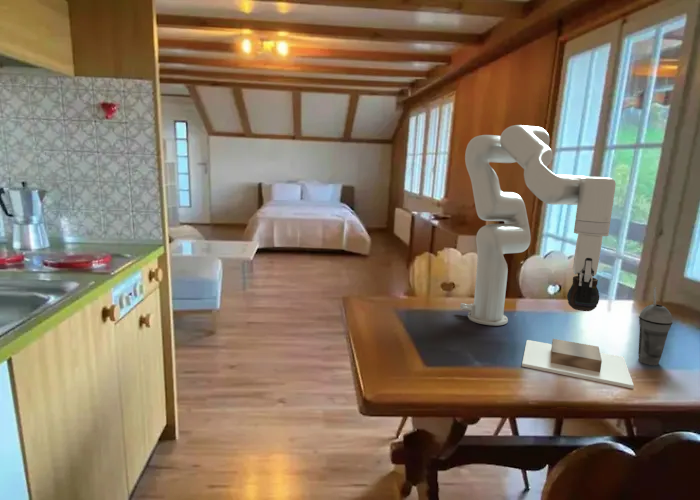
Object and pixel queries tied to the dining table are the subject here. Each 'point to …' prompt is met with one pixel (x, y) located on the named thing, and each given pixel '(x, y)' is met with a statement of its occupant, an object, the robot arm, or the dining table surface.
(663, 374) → the dining table surface
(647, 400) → the dining table surface
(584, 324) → the dining table surface
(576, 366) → the walnut plinth
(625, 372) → the board
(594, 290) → the mate gourd
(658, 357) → the beverage cup
